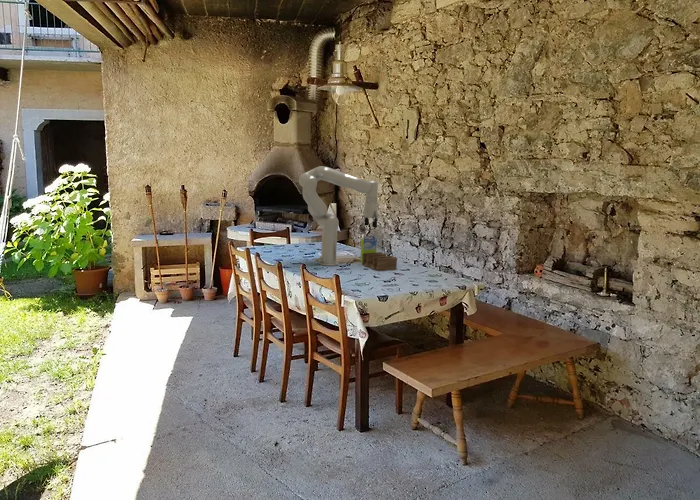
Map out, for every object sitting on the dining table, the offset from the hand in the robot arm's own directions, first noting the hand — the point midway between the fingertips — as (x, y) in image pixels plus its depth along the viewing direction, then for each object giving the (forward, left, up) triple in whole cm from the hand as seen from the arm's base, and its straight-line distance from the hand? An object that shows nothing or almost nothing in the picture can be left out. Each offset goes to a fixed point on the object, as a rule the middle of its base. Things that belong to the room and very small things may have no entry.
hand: (370, 226), depth 363 cm
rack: (-2, -16, -24) cm, 29 cm away
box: (0, 0, -24) cm, 24 cm away
